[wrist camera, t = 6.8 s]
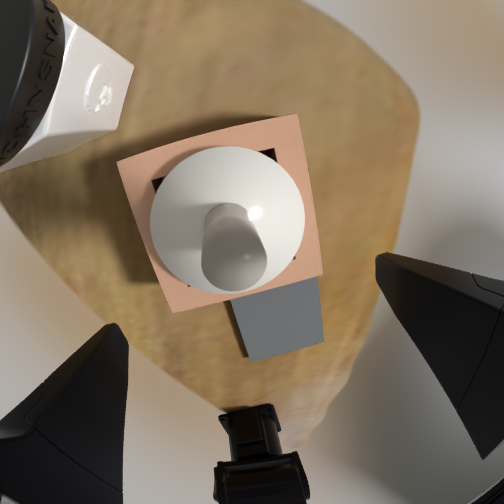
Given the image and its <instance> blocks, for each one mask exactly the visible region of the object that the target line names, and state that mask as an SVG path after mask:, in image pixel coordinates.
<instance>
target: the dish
mask: <svg viewBox="0 0 504 504" xmlns="http://www.w3.org/2000/svg"><path fill="white" fill-rule="evenodd" d="M218 146H239V147H244V148H248V149H252V150H254V151H257V152H260V153H262V154H263V155H265V156H267V157H269V158H271V159H272V160H274V161H275V162H276V163H278V164H279V165H280V166H281V167H282V168H283V169H284V170H285V171H286V172H287V173H288V174H289V175H290V177H291V178H292V179H293V181H294V182H295V184H296V186H297V188H298V190H299V192H300V195H301V197H302V201H303V205H304V213H305V226H304V232H303V237H302V240H301V243H300V246H299V248H298V250H297V252H296V254H295V256H294V257H293V259H292V261H291V262H290V263H289V264H288V266H287V267H286V268H285V269H284V270H283V271H282V272H281V273H280V274H279V275H277V276H276V277H275V278H274V279H272V280H271V281H269V282H267V283H266V284H264V285H262V286H260V287H258V288H255V289H252V290H249V291H246V292H241V293H235V294H217V293H210V292H206V291H202V290H199V289H197V288H194V287H192V286H190V285H188V284H186V283H184V282H183V281H181V280H180V279H179V278H177V277H176V276H175V275H174V274H173V273H172V272H171V271H169V269H168V268H167V267H166V266H165V265H164V263H163V262H162V260H161V259H160V257H159V256H158V253H157V251H156V249H155V247H154V244H153V240H152V237H151V230H150V214H151V207H152V204H153V200H154V197H155V195H156V192H157V190H158V188H159V186H160V185H161V183H162V182H163V180H164V179H165V177H166V176H167V175H168V174H169V173H170V171H171V170H172V169H173V168H175V167H176V166H177V165H178V164H179V163H180V162H181V161H183V160H184V159H186V158H187V157H189V156H191V155H193V154H195V153H197V152H199V151H202V150H205V149H208V148H212V147H218ZM117 166H118V169H119V172H120V176H121V179H122V182H123V185H124V188H125V191H126V194H127V197H128V200H129V203H130V206H131V209H132V212H133V215H134V218H135V221H136V223H137V226H138V229H139V232H140V234H141V237H142V240H143V242H144V245H145V248H146V250H147V253H148V255H149V258H150V260H151V263H152V265H153V268H154V270H155V273H156V275H157V278H158V280H159V282H160V285H161V287H162V290H163V292H164V294H165V296H166V299H167V301H168V303H169V306H170V308H171V310H172V312H173V313H176V312H180V311H184V310H189V309H193V308H197V307H201V306H205V305H210V304H214V303H218V302H222V301H226V300H230V299H234V298H238V297H242V296H246V295H250V294H253V293H257V292H261V291H265V290H269V289H272V288H276V287H280V286H284V285H287V284H291V283H295V282H298V281H302V280H305V279H309V278H312V277H316V276H320V275H323V271H322V262H321V254H320V246H319V239H318V231H317V224H316V217H315V210H314V204H313V197H312V191H311V185H310V179H309V173H308V168H307V162H306V157H305V151H304V146H303V141H302V136H301V131H300V126H299V121H298V116H297V114H294V115H287V116H281V117H275V118H270V119H265V120H260V121H255V122H250V123H246V124H241V125H237V126H232V127H228V128H224V129H220V130H216V131H212V132H208V133H204V134H201V135H197V136H193V137H190V138H186V139H183V140H180V141H176V142H173V143H170V144H166V145H163V146H160V147H157V148H154V149H151V150H148V151H145V152H142V153H139V154H136V155H134V156H131V157H128V158H126V159H123V160H120V161H118V162H117Z"/></svg>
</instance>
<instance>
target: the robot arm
mask: <svg viewBox="0 0 504 504" xmlns="http://www.w3.org/2000/svg"><path fill="white" fill-rule="evenodd" d="M375 266H376V281H377V283H378V285H379V287H380V289H381V290H382V292H383V294H384V296H385V297H386V299H387V301H388V303H389V305H390V306H391V308H392V310H393V312H394V314H395V315H396V317H397V318H398V320H399V321H400V323H401V324H402V326H403V327H404V328H405V330H406V331H407V333H408V334H409V336H410V337H411V339H412V340H413V342H414V343H415V345H416V346H417V348H418V349H419V351H420V352H421V354H422V355H423V357H424V359H425V360H426V362H427V363H428V365H429V366H430V368H431V369H432V371H433V373H434V374H435V376H436V378H437V379H438V381H439V382H440V384H441V386H442V387H443V389H444V391H445V392H446V394H447V396H448V397H449V399H450V401H451V402H452V404H453V406H454V408H455V409H456V412H457V413H458V415H459V417H460V419H461V420H462V422H463V424H464V426H465V428H466V430H467V431H468V433H469V435H470V437H471V439H472V441H473V443H474V445H475V446H476V449H477V451H478V453H479V454H480V457H481V458H482V460H484V459H485V458H487V457H488V456H489V455H490V454H492V453H493V452H494V451H495V450H497V449H498V448H499V447H500V446H501V445H503V443H504V281H502V280H497V279H492V278H488V277H484V276H480V275H477V274H473V273H472V274H471V273H469V272H465V271H461V270H457V269H454V268H449V267H446V266H441V265H438V264H434V263H430V262H426V261H422V260H418V259H413V258H409V257H405V256H401V255H397V254H393V253H388V252H385V253H382V254H379V255H377V256H376V260H375ZM128 355H129V345H128V341H127V339H126V338H125V336H124V334H123V333H122V331H121V329H120V327H119V326H118V325H117V324H116V323H111V324H106V325H105V326H103V327H102V328H101V329H100V330H99V331H98V332H97V333H96V334H94V335H93V336H92V337H91V338H90V339H89V340H88V341H87V342H86V343H85V344H83V345H82V346H81V347H80V348H79V349H78V350H77V351H76V352H75V353H73V354H72V355H71V356H70V357H69V358H68V359H67V360H66V361H65V362H64V363H63V364H62V365H60V366H59V367H58V368H57V369H56V370H55V371H54V372H53V373H52V374H51V375H50V376H49V377H48V378H47V379H46V380H45V381H44V383H41V384H40V385H39V386H38V387H37V388H36V389H35V390H34V391H33V392H32V393H31V394H30V395H29V396H28V397H26V398H25V399H24V400H23V401H22V402H21V403H20V404H19V405H17V406H16V407H15V408H14V409H13V410H12V411H11V412H9V413H8V414H7V415H6V416H5V417H4V418H2V419H1V420H0V504H123V493H122V491H123V489H122V487H123V482H122V481H123V441H124V425H125V411H126V400H127V390H128ZM218 418H219V421H220V423H221V424H222V426H223V428H224V429H225V430H226V432H227V434H228V435H229V443H230V452H231V461H228V462H222V461H219V462H217V464H218V465H217V467H215V468H214V477H215V482H214V493H213V497H214V500H215V501H217V502H218V503H219V504H307V503H306V500H308V499H310V489H309V485H308V480H307V477H306V474H305V471H304V469H303V466H302V463H301V461H300V458H299V455H298V453H297V451H295V452H292V453H288V454H283V453H282V449H281V445H280V441H279V437H278V432H280V431H281V427H280V424H279V421H278V417H277V414H276V411H275V408H274V406H273V405H265V406H261V407H257V408H252V409H248V410H243V411H238V412H233V413H228V414H222V415H219V416H218ZM468 504H504V476H503V477H501V478H500V479H499V480H498V481H497V482H496V483H494V484H493V485H492V486H491V487H489V488H488V489H487V490H486V491H484V492H483V493H482V494H480V495H479V496H478V497H476V498H475V499H473V500H472V501H471V502H469V503H468Z"/></svg>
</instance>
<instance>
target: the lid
mask: <svg viewBox="0 0 504 504" xmlns="http://www.w3.org/2000/svg"><path fill="white" fill-rule="evenodd" d="M304 226H305V213H304V205H303V201H302V197H301V195H300V192H299V190H298V188H297V186H296V184H295V182H294V181H293V179H292V178H291V177H290V175H289V174H288V173H287V172H286V171H285V170H284V169H283V168H282V167H281V166H280V165H279V164H278V163H276V162H275V161H274V160H272V159H271V158H269V157H267V156H265V155H263V154H262V153H260V152H257V151H254V150H252V149H248V148H244V147H239V146H218V147H212V148H208V149H205V150H202V151H199V152H197V153H195V154H193V155H191V156H189V157H187V158H186V159H184V160H183V161H181V162H180V163H179V164H178V165H177V166H176V167H175V168H173V169H172V170H171V171H170V173H169V174H168V175H167V176H166V177H165V179H164V180H163V182H162V183H161V185H160V186H159V188H158V190H157V192H156V195H155V197H154V200H153V204H152V207H151V214H150V230H151V237H152V240H153V244H154V247H155V249H156V251H157V253H158V256H159V257H160V259H161V260H162V262H163V263H164V265H165V266H166V267H167V268H168V269H169V271H171V272H172V273H173V274H174V275H175V276H176V277H177V278H179V279H180V280H181V281H183V282H184V283H186V284H188V285H190V286H192V287H194V288H197V289H199V290H202V291H206V292H210V293H217V294H235V293H241V292H246V291H249V290H252V289H255V288H258V287H260V286H262V285H264V284H266V283H267V282H269V281H271V280H272V279H274V278H275V277H276V276H277V275H279V274H280V273H281V272H282V271H283V270H284V269H285V268H286V267H287V266H288V264H289V263H290V262H291V261H292V259H293V257H294V256H295V254H296V252H297V250H298V248H299V246H300V243H301V240H302V237H303V232H304Z"/></svg>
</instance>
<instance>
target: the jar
mask: <svg viewBox="0 0 504 504" xmlns="http://www.w3.org/2000/svg"><path fill="white" fill-rule="evenodd" d="M133 70H134V65H133V64H132V63H131V62H129V61H128V60H127V59H126V58H125V57H124V56H122V55H121V54H120V53H119V52H118V51H116V50H115V49H114V48H113V47H112V46H110V45H109V44H108V43H107V42H105V41H104V40H103V39H102V38H100V37H99V36H98V35H97V34H95V33H94V32H93V31H91V30H90V29H88V28H87V27H86V26H84V25H83V24H81V23H80V22H79V21H77V20H76V19H74V18H73V17H71V16H70V15H68V14H67V13H65V12H64V11H62V10H61V9H59V8H58V7H56V6H55V5H54V4H53V3H52V2H51V1H50V0H0V173H1V172H4V171H7V170H10V169H13V168H16V167H19V166H22V165H25V164H29V163H32V162H35V161H39V160H42V159H46V158H49V157H53V156H57V155H61V154H65V153H67V152H69V151H71V150H73V149H75V148H77V147H79V146H81V145H83V144H85V143H87V142H90V141H92V140H94V139H96V138H98V137H101V136H103V135H105V134H108V133H110V132H112V131H115V130H116V129H117V127H118V123H119V118H120V115H121V111H122V107H123V103H124V100H125V96H126V93H127V89H128V86H129V83H130V79H131V76H132V73H133Z"/></svg>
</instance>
